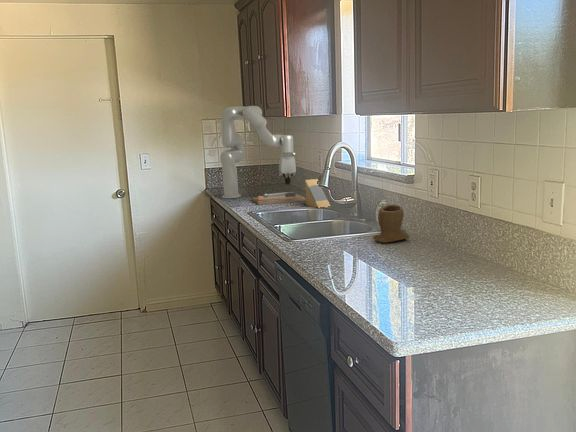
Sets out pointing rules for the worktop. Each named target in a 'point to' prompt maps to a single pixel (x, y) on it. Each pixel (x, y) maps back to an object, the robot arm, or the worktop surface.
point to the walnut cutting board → (278, 199)
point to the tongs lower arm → (279, 196)
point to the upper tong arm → (279, 194)
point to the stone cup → (390, 224)
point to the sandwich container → (315, 194)
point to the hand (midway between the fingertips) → (287, 184)
